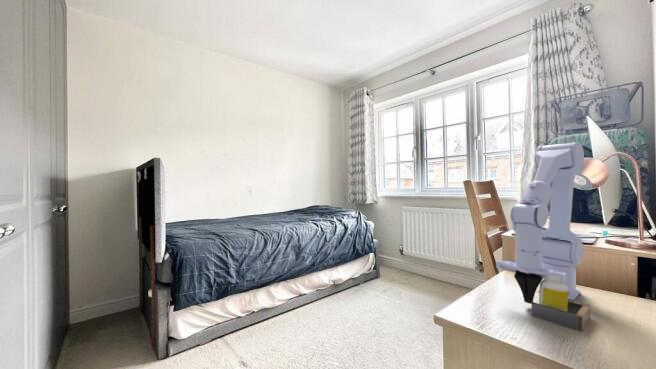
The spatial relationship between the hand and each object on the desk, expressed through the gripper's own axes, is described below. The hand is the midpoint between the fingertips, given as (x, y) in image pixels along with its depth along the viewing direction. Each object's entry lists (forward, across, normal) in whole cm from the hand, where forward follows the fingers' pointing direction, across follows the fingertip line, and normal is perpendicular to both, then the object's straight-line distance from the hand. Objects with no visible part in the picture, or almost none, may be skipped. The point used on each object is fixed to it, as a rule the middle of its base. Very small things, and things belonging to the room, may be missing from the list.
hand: (528, 301), depth 70 cm
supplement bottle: (+1, +5, -1) cm, 5 cm away
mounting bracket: (+1, +6, 0) cm, 6 cm away
